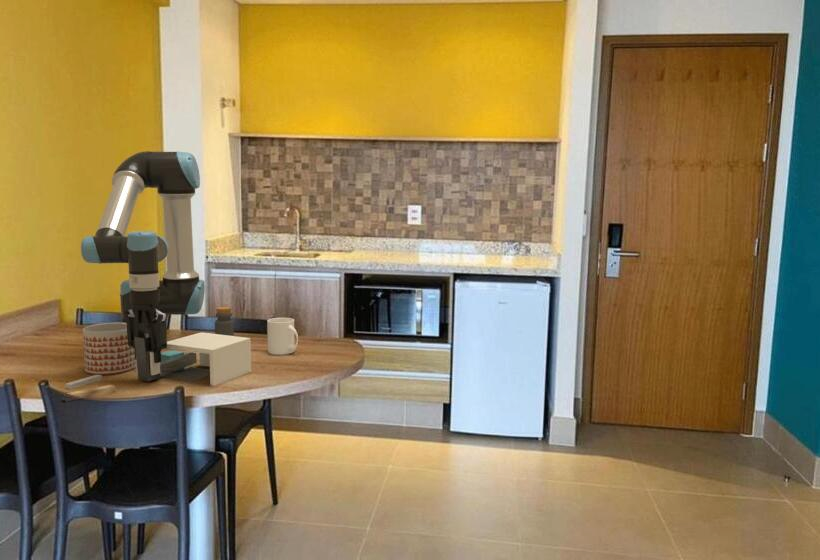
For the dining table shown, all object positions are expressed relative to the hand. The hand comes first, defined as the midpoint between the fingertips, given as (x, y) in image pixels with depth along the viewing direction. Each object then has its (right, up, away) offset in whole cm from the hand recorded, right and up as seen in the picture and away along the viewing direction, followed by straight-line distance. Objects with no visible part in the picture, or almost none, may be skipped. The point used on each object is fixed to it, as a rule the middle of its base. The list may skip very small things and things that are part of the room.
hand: (148, 372), depth 181 cm
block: (+2, -1, +11) cm, 11 cm away
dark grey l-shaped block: (+4, 0, +6) cm, 7 cm away
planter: (-16, -1, +13) cm, 21 cm away
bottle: (+12, +1, +33) cm, 35 cm away
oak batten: (-10, -5, -13) cm, 17 cm away
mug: (+31, +1, +34) cm, 46 cm away
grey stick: (-17, -3, -2) cm, 17 cm away
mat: (+4, -1, +10) cm, 11 cm away
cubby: (+14, -2, +7) cm, 16 cm away
